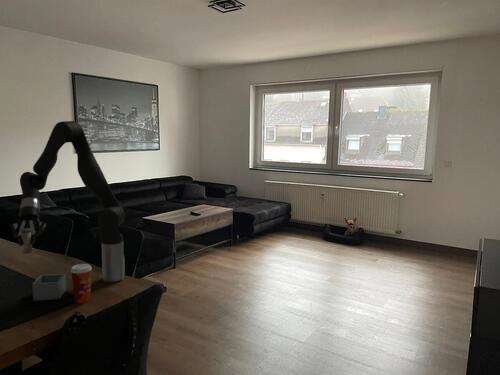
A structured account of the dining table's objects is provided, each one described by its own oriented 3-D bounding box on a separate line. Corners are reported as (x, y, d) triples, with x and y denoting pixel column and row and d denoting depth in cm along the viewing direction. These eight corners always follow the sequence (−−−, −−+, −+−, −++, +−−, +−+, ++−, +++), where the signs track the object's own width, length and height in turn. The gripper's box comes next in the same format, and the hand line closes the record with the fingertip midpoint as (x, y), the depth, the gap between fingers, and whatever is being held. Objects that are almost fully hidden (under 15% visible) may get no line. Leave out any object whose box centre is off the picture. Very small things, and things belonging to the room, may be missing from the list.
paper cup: (84, 305, 141) (83, 270, 139) (67, 303, 142) (65, 268, 140) (97, 297, 148) (96, 263, 146) (80, 295, 150) (79, 262, 148)
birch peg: (34, 250, 156) (32, 228, 155) (30, 253, 153) (28, 230, 151) (24, 251, 155) (23, 228, 154) (21, 253, 152) (19, 230, 151)
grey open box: (66, 289, 155) (65, 273, 154) (59, 299, 146) (58, 282, 145) (42, 290, 153) (41, 274, 152) (33, 300, 144) (32, 283, 143)
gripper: (9, 206, 156) (3, 241, 146) (46, 204, 161) (43, 238, 151) (13, 216, 162) (8, 250, 152) (49, 213, 167) (46, 247, 157)
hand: (26, 244), depth 152 cm, fingers closed on birch peg, 3 cm apart
